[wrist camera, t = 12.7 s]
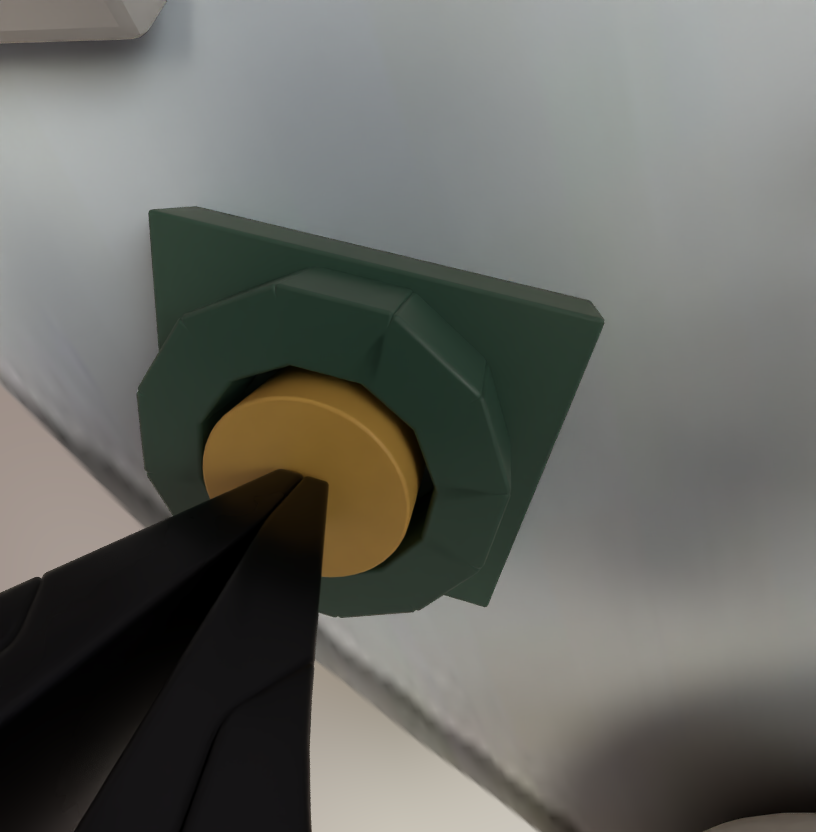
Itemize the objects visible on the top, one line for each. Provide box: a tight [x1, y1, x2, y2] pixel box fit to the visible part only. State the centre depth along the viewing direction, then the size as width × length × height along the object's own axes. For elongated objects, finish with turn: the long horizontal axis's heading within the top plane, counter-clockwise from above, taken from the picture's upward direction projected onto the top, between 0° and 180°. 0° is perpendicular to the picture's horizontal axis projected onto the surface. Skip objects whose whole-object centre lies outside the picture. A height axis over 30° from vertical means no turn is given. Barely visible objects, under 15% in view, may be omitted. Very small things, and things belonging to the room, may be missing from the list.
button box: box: [137, 206, 604, 618], centre depth 9 cm, size 8×7×3 cm
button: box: [203, 365, 426, 577], centre depth 8 cm, size 4×4×2 cm
